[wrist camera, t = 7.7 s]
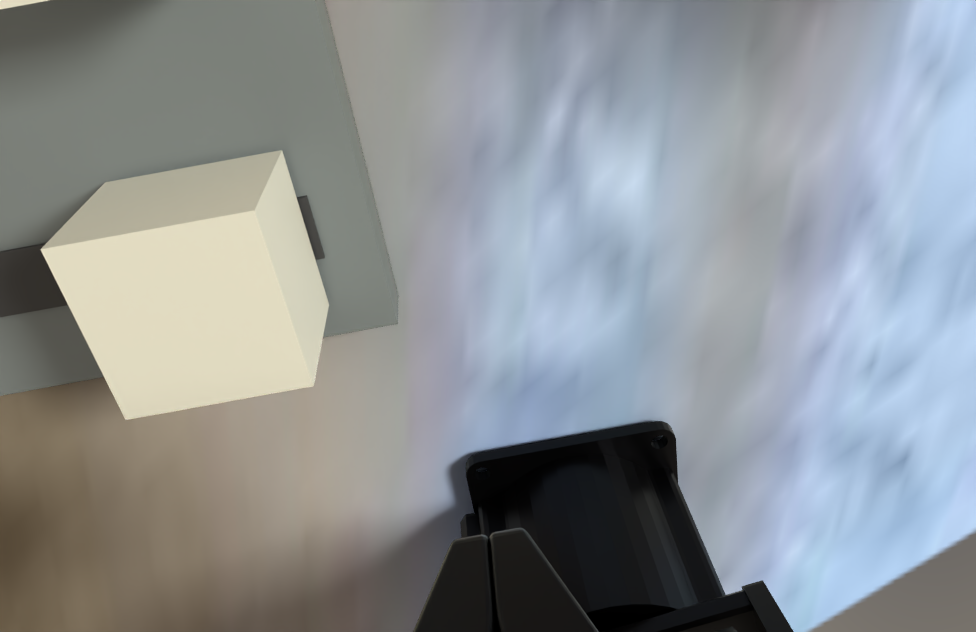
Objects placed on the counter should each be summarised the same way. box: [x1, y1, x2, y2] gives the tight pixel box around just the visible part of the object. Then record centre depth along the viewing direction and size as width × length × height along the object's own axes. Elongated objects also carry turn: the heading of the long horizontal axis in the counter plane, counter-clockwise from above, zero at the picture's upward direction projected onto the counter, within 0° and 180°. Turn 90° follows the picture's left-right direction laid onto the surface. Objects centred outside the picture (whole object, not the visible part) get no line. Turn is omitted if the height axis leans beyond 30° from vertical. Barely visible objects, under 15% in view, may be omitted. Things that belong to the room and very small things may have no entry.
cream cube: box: [40, 150, 329, 420], centre depth 17 cm, size 4×4×4 cm
